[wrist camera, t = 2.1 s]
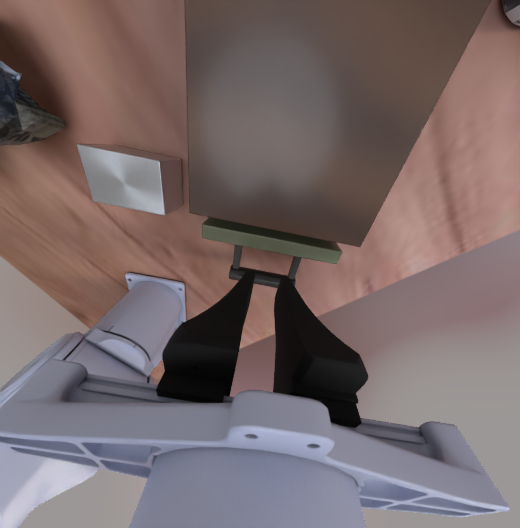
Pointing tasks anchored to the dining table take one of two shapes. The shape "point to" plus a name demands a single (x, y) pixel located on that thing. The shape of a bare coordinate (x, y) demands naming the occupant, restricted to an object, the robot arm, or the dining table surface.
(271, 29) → the cabinet
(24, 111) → the foil
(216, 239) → the drawer
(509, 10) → the pill bottle
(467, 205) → the dining table surface
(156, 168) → the silver metal block
